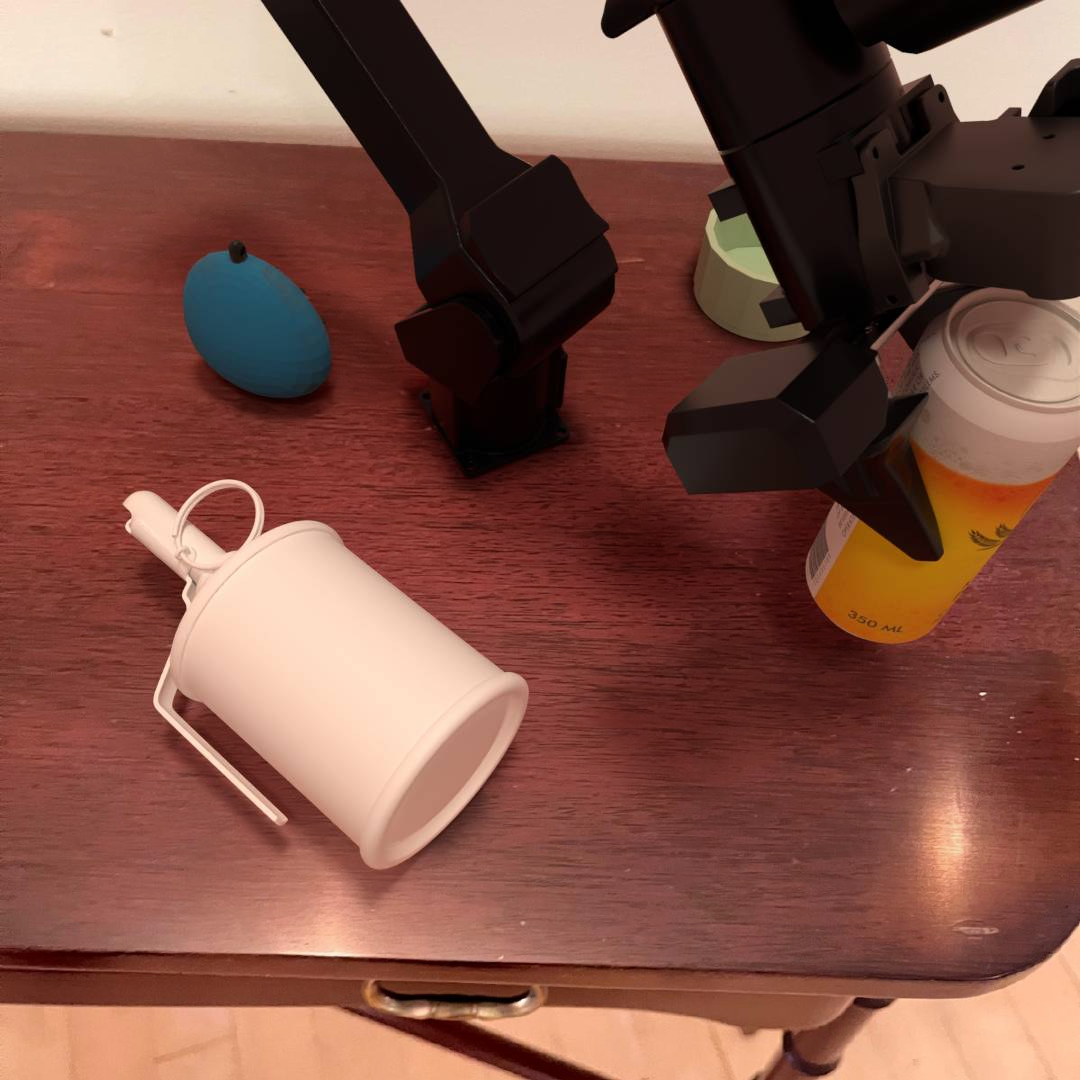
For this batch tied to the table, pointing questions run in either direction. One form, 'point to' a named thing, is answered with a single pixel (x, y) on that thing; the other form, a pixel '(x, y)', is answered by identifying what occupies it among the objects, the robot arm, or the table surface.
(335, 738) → the white smoke grenade
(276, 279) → the ornament
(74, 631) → the table surface
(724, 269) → the can holder
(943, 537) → the beer can
